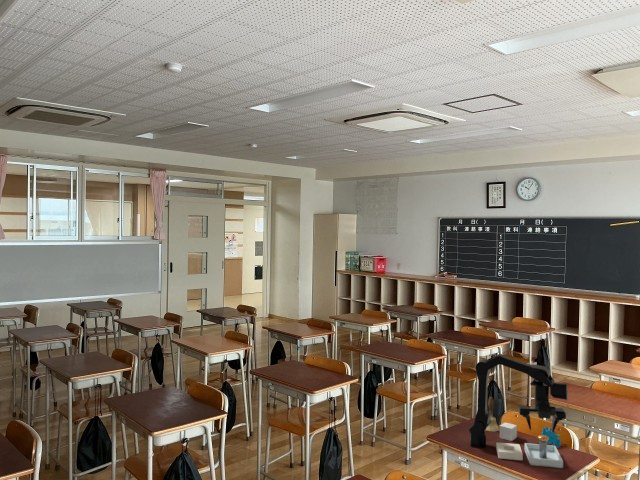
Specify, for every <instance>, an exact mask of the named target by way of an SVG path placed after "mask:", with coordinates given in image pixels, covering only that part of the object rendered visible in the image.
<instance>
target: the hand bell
mask: <svg viewBox="0 0 640 480" xmlns="http://www.w3.org/2000/svg"><path fill="white" fill-rule="evenodd" d="M494 403H495V402H494V398H493V397H492V396H489V399H488V400H487V407H488V408H489V411H488V413H491V423H490V424H489V426H488V427H487V428H486V430H485V431H486V432H487V431H488V432H490V433H491V432H493V433H494V432H495V433H496V432H500V426H499V425H498V423H497V420H496V417H494V416H493V413H494V412H493V411H494V405H495V404H494Z"/></svg>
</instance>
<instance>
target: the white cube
mask: <svg viewBox="0 0 640 480" xmlns="http://www.w3.org/2000/svg"><path fill="white" fill-rule="evenodd" d="M499 428H500V430H499V438H500V439H503V440H507V441H510V442H513V441H514V440H515V439H516V438H517V437H518V425H517V424H513V423H510V422H509V423H508V422H502V423H501V424H500V425H499Z"/></svg>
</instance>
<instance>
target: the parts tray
mask: <svg viewBox="0 0 640 480" xmlns="http://www.w3.org/2000/svg"><path fill="white" fill-rule="evenodd" d="M523 448H524V449H523V450H524V452H525V455H526V457H527V460H528V463H529V465H530V466H536V467H546V468H557V469H564V460H563V458H562V457H561V454H560V453H559V450H558V448H556V446H555V445H554V446H552V445H551V444H547V458H546V459H542V458H540V457H539V444H537V443H526V442H524V445H523Z"/></svg>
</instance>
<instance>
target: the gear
mask: <svg viewBox="0 0 640 480" xmlns="http://www.w3.org/2000/svg"><path fill="white" fill-rule="evenodd" d="M541 431H542V432H541V435H545V436H548V437H549V440H548V441H547V445H552V446H556V448H557V449H558V448H559V447H561V443H562V440H561V439H560V437H561V434H557V432H556V430H554V432H552V427H548V426H545V427H544V428H542V429H541Z"/></svg>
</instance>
